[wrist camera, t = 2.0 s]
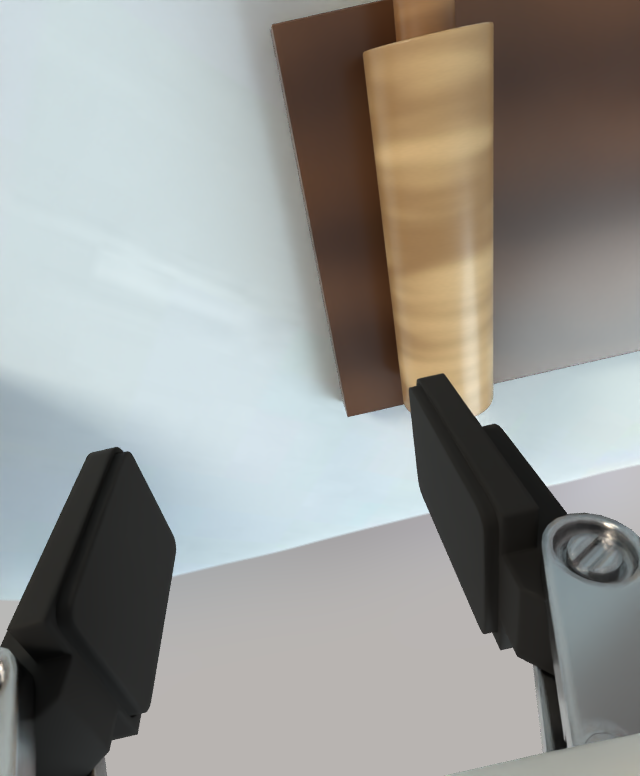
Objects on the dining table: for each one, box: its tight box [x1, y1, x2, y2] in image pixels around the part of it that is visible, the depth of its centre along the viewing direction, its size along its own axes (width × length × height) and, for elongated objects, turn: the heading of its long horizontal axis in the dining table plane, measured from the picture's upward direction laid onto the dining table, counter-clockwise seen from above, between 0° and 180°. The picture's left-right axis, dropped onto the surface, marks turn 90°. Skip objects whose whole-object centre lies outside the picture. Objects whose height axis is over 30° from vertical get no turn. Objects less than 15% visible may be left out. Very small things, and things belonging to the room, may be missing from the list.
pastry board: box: [271, 0, 640, 417], centre depth 23 cm, size 18×24×2 cm
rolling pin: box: [363, 0, 494, 416], centre depth 21 cm, size 22×4×4 cm, turn 10°
